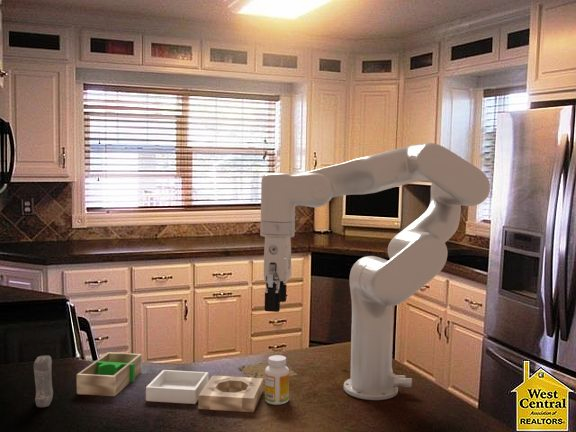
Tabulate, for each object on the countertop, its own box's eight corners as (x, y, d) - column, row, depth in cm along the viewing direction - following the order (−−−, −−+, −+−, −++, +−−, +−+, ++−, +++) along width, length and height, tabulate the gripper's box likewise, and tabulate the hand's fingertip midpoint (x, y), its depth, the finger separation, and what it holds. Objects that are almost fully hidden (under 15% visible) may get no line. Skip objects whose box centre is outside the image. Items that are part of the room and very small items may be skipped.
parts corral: (141, 371, 142) (141, 354, 141) (114, 396, 126) (114, 376, 125) (108, 369, 143) (107, 352, 142) (76, 393, 127) (76, 374, 126)
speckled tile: (255, 384, 135) (255, 380, 135) (236, 369, 145) (236, 365, 145) (298, 377, 140) (299, 373, 140) (277, 362, 151) (277, 359, 151)
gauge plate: (262, 390, 130) (262, 378, 130) (253, 412, 118) (253, 398, 118) (212, 387, 131) (212, 375, 131) (198, 408, 119) (198, 395, 119)
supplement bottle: (288, 395, 127) (289, 354, 127) (289, 405, 122) (289, 361, 121) (264, 395, 127) (265, 353, 126) (264, 405, 122) (265, 361, 121)
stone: (54, 398, 124) (54, 353, 124) (49, 407, 119) (49, 361, 118) (37, 399, 124) (37, 354, 123) (32, 408, 118) (31, 362, 118)
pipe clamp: (87, 383, 133) (87, 365, 133) (94, 377, 137) (94, 360, 136) (128, 385, 131) (128, 367, 131) (135, 380, 135) (134, 362, 135)
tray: (208, 385, 133) (208, 372, 133) (195, 403, 122) (195, 390, 122) (163, 382, 134) (163, 369, 134) (145, 400, 123) (145, 387, 123)
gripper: (289, 233, 113) (287, 316, 114) (299, 226, 130) (297, 298, 131) (252, 232, 114) (251, 314, 115) (267, 225, 131) (265, 297, 133)
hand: (275, 306), depth 123 cm, fingers open, 9 cm apart
